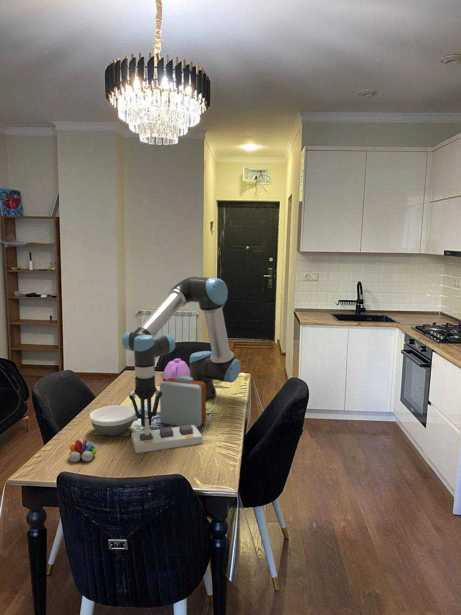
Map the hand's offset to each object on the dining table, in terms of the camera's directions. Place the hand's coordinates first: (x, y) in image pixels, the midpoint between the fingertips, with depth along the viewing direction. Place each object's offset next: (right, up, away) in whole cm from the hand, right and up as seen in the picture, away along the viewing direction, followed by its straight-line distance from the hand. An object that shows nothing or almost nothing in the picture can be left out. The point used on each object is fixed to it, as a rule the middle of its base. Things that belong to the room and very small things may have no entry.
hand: (146, 433), depth 183 cm
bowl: (-16, -3, +13) cm, 21 cm away
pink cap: (+2, +8, +85) cm, 86 cm away
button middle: (+7, -2, +3) cm, 8 cm away
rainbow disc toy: (-22, -6, -11) cm, 25 cm away
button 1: (0, -4, 0) cm, 4 cm away
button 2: (+15, -2, +6) cm, 16 cm away
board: (+7, -4, +3) cm, 9 cm away
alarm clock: (+12, -1, +23) cm, 26 cm away
